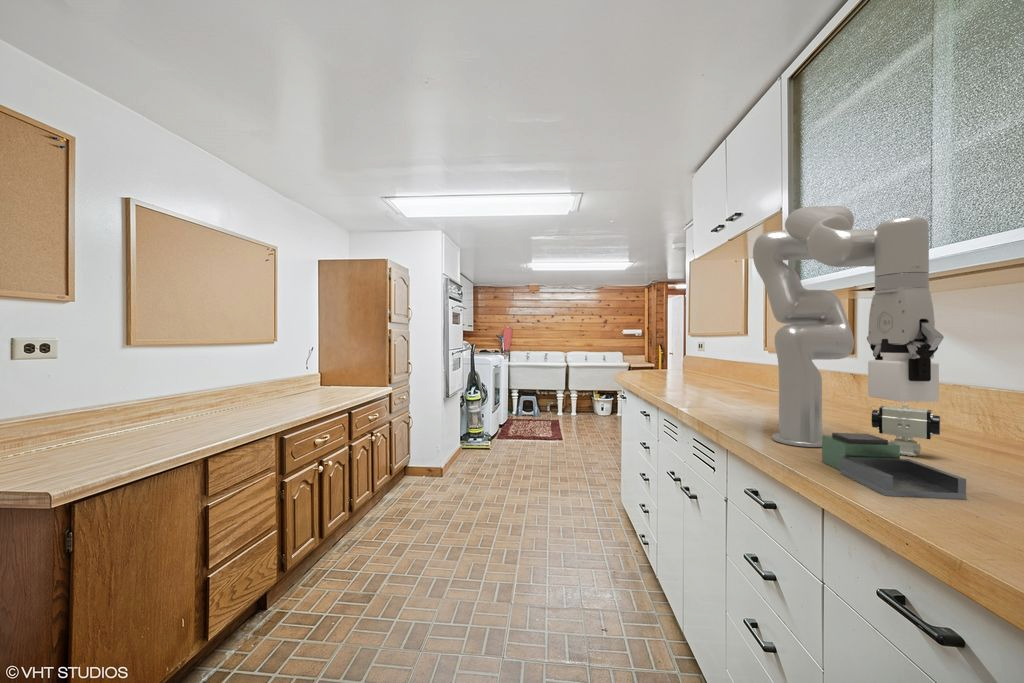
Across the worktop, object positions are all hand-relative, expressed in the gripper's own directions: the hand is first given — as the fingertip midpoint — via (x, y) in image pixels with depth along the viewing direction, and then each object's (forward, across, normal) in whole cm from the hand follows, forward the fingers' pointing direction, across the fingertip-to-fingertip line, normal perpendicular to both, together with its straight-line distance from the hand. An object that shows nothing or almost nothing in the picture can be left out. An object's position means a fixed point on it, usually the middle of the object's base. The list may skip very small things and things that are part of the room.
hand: (901, 378), depth 79 cm
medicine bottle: (+4, 0, 0) cm, 4 cm away
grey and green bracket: (+20, -4, -1) cm, 20 cm away
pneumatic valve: (+20, -23, +17) cm, 35 cm away
